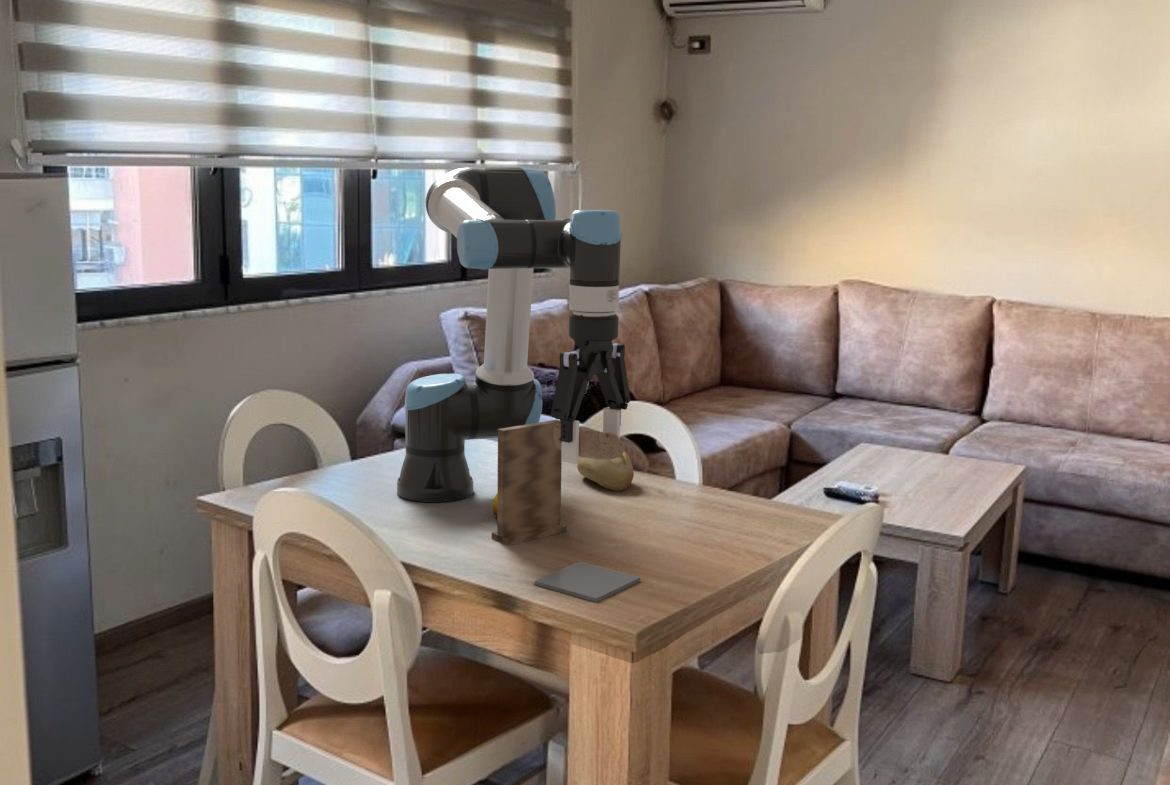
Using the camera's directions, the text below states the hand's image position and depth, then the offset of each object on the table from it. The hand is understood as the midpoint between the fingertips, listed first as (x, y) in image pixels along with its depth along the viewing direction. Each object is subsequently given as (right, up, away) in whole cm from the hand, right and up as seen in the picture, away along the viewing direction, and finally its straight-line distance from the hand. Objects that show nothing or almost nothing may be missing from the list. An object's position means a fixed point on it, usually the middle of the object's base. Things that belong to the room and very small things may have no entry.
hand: (590, 455), depth 182 cm
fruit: (-13, -14, +37) cm, 42 cm away
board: (-11, -16, +27) cm, 33 cm away
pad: (-1, -20, +4) cm, 21 cm away
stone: (-1, 0, 0) cm, 1 cm away
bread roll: (+3, -9, +62) cm, 63 cm away
